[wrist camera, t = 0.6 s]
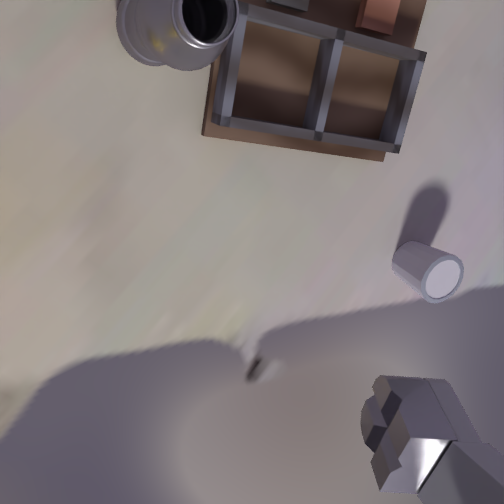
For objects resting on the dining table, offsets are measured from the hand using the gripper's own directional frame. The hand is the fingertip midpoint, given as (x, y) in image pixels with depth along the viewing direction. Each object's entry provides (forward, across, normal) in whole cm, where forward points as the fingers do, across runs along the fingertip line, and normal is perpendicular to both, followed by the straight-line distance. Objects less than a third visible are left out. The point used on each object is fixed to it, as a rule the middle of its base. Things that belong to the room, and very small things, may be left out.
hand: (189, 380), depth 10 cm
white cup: (+47, -32, +24) cm, 62 cm away
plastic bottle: (+42, +5, 0) cm, 42 cm away
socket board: (+46, -12, +1) cm, 48 cm away
